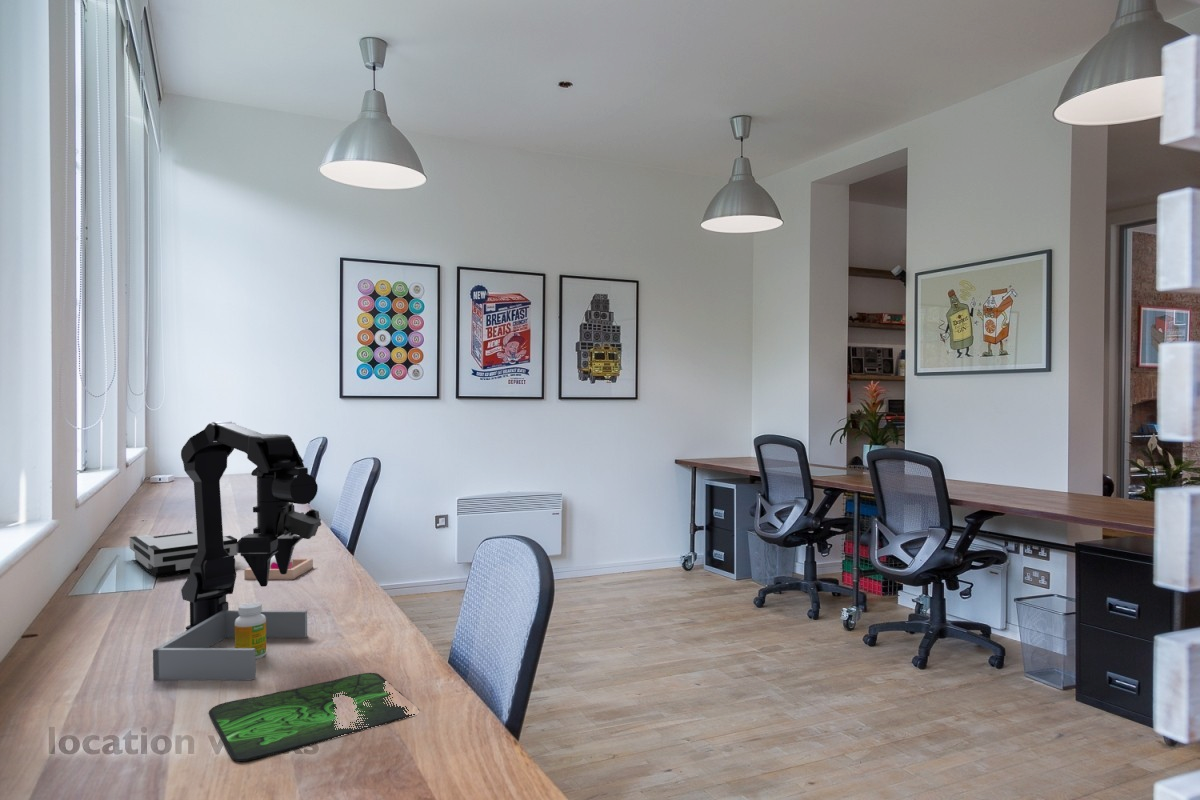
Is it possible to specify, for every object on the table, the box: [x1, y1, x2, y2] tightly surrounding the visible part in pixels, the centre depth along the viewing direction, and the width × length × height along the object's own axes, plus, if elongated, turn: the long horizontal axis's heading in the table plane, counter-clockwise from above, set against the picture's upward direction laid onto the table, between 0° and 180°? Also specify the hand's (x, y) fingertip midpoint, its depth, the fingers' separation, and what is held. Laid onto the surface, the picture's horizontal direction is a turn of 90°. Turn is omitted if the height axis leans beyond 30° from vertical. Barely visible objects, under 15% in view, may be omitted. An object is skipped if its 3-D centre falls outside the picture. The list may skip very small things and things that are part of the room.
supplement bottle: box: [234, 601, 267, 660], centre depth 142 cm, size 5×5×10 cm
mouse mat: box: [208, 672, 415, 762], centre depth 118 cm, size 27×22×1 cm
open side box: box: [152, 610, 308, 681], centre depth 142 cm, size 18×23×5 cm
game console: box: [128, 528, 239, 578], centre depth 218 cm, size 21×32×8 cm, turn 42°
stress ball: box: [270, 555, 294, 569], centre depth 205 cm, size 8×8×7 cm
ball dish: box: [243, 558, 314, 580], centre depth 206 cm, size 13×13×2 cm
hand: (274, 580), depth 146 cm, fingers open, 9 cm apart
